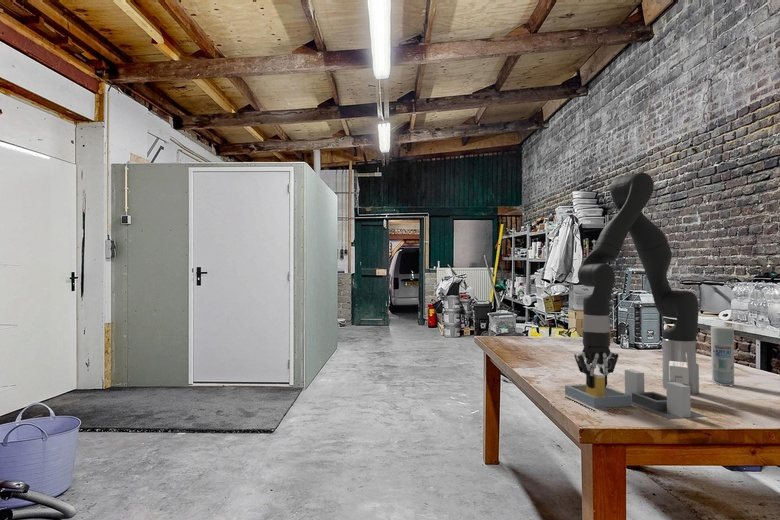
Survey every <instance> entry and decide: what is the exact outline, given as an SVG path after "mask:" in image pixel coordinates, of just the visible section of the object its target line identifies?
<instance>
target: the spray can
mask: <svg viewBox="0 0 780 520" xmlns="http://www.w3.org/2000/svg"><path fill="white" fill-rule="evenodd" d="M734 329H735V328H734V327H731V326H723V325H722V326H720V325H713V326H712V325H711V326H710V350H711V351H710V353H711V358H710V359H711V382H713V383H716V384H721V385H734V386H735V342H734V341H735V336H734V335H735V334H734V333H735V332H734V331H735V330H734ZM713 383H712V384H713ZM716 384H715V385H716Z"/></svg>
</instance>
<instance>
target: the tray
mask: <svg viewBox="0 0 780 520" xmlns="http://www.w3.org/2000/svg"><path fill="white" fill-rule="evenodd" d="M564 395H565V396H564V398H565V399H567V400H569V401H571V400H572V401H571V402H573V401H574V402H573V403H575V402H576V403H575V404H577V403H578V405H579V404H580V406H581V407H583V408H586V409H588V410H590V409H591V410H590V411H592V410H593V411H592V412H594V411H596V409H602V408H604V409H605V408H618V407H619V408H620V407H621V408H622V407H632V404H631V396H630V395H628V394H625V392H622V391H620V390H617V389H615V388H614V389H613V388H612V387H609V386H606V388H605V394H604V396H601V397H594V396H592V395H590V394H587V393H586V383H584V384H583V383H582V384H569V385H568V384H565V385H564ZM569 397H570V398H569Z"/></svg>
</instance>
